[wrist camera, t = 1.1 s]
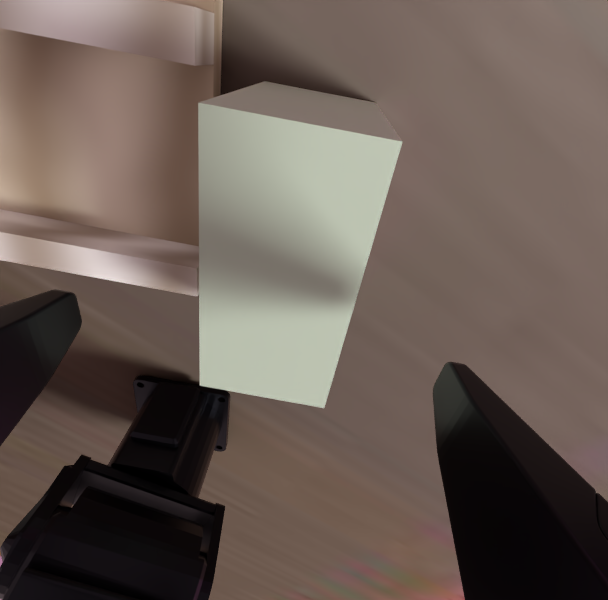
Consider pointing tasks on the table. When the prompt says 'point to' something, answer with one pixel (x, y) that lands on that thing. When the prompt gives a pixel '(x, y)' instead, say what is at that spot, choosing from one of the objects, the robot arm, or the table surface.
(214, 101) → the key block
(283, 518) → the table surface
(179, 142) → the cradle
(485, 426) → the robot arm
